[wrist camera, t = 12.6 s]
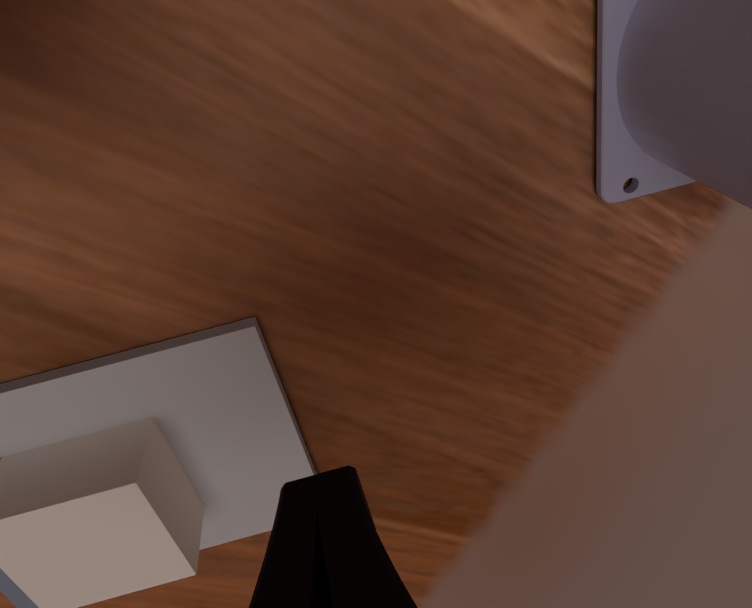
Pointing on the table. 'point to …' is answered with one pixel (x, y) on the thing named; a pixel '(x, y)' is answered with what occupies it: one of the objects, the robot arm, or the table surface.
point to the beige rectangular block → (96, 518)
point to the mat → (180, 418)
